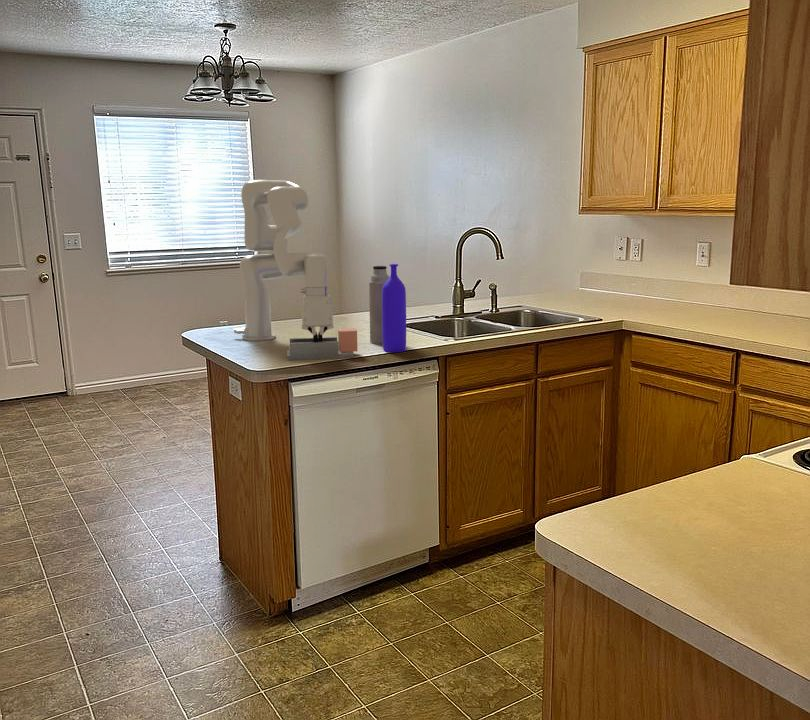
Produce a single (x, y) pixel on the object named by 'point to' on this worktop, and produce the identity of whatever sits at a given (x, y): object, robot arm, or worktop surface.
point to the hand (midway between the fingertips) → (318, 346)
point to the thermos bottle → (376, 303)
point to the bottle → (394, 313)
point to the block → (347, 339)
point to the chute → (315, 349)
